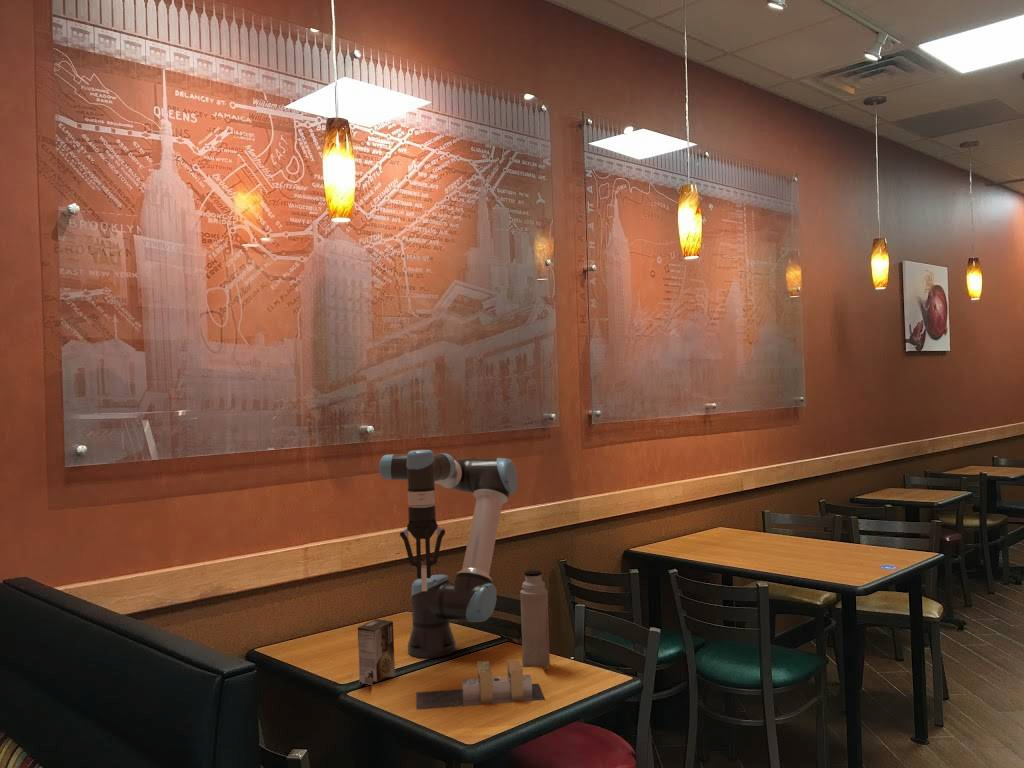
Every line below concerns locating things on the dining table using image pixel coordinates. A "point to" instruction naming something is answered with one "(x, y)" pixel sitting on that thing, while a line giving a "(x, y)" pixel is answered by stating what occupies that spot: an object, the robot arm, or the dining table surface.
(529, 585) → the thermos bottle
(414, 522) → the robot arm
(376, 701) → the dining table surface
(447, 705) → the collar stand
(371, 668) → the coffee box
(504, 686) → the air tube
